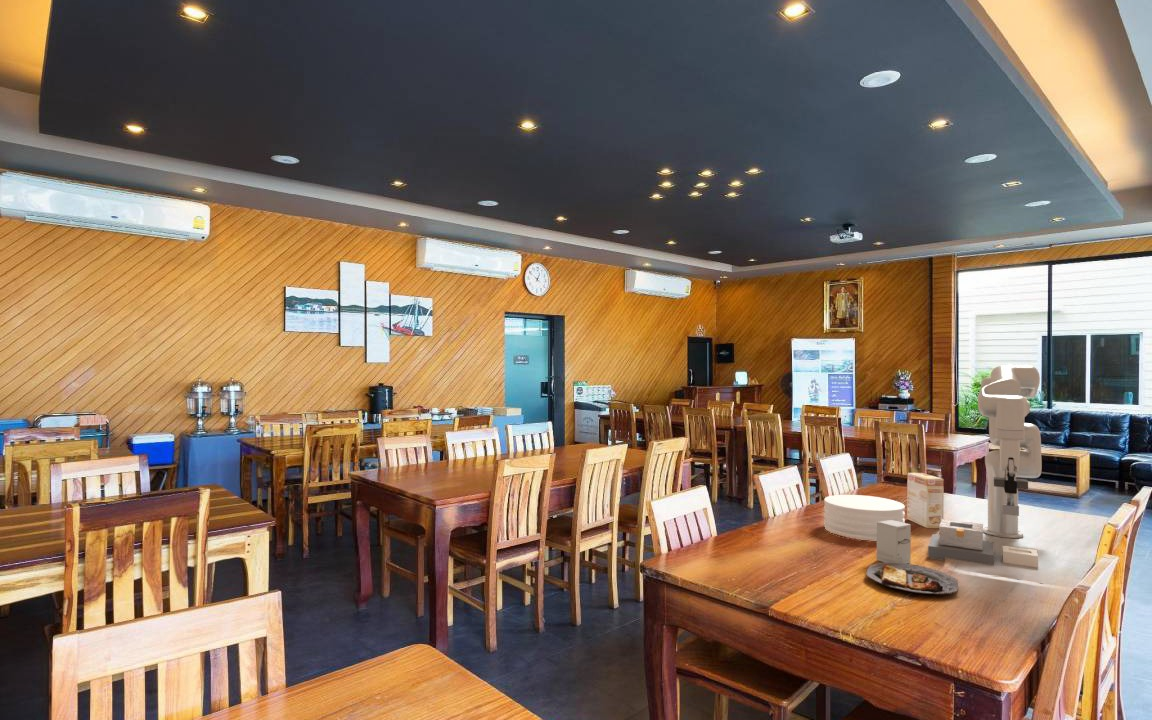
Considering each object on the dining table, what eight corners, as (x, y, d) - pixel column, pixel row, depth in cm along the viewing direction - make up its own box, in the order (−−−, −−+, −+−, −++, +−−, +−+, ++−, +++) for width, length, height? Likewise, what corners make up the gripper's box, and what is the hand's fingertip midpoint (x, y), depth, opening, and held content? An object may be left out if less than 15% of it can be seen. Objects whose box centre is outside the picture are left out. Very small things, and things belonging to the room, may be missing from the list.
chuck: (941, 536, 217) (941, 519, 217) (982, 541, 210) (982, 524, 210) (938, 546, 204) (938, 528, 205) (982, 552, 198) (982, 533, 198)
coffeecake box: (944, 528, 245) (944, 478, 245) (926, 528, 245) (926, 478, 245) (923, 519, 260) (923, 472, 260) (906, 519, 260) (906, 472, 260)
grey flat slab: (932, 545, 221) (932, 534, 221) (993, 554, 211) (993, 542, 211) (928, 558, 206) (928, 545, 206) (993, 568, 196) (993, 555, 196)
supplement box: (896, 566, 197) (896, 526, 197) (875, 560, 203) (875, 521, 204) (911, 563, 200) (911, 524, 200) (890, 557, 207) (890, 519, 207)
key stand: (1002, 559, 206) (1002, 545, 206) (1036, 564, 201) (1036, 550, 201) (1003, 565, 199) (1003, 551, 199) (1038, 570, 194) (1038, 556, 194)
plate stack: (907, 529, 243) (907, 500, 244) (900, 546, 220) (900, 514, 220) (831, 519, 259) (831, 491, 259) (817, 534, 235) (817, 504, 235)
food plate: (957, 606, 165) (957, 593, 165) (861, 589, 177) (861, 577, 177) (958, 579, 186) (958, 567, 186) (872, 566, 198) (872, 554, 198)
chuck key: (993, 511, 206) (993, 476, 206) (1027, 515, 201) (1027, 479, 201) (993, 514, 202) (993, 478, 202) (1028, 517, 197) (1028, 481, 197)
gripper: (995, 432, 211) (995, 486, 211) (997, 436, 196) (997, 494, 196) (1022, 433, 207) (1022, 488, 207) (1026, 438, 192) (1026, 497, 192)
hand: (1010, 491), depth 201 cm, fingers closed on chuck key, 4 cm apart
